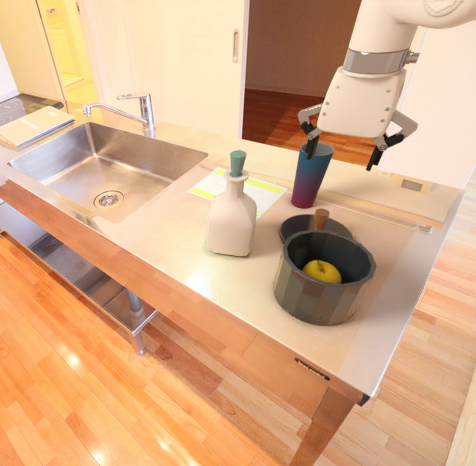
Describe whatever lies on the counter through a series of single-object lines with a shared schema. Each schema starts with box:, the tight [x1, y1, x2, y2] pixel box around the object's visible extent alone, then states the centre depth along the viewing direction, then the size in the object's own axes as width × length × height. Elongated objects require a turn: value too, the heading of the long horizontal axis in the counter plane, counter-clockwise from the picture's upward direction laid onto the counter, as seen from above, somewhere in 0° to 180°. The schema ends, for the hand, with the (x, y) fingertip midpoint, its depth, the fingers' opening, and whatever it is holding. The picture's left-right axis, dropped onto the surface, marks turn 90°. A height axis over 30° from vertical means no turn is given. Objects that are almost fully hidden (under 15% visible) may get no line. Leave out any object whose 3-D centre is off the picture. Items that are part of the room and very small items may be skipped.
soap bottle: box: [205, 149, 258, 257], centre depth 66 cm, size 10×10×23 cm
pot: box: [272, 230, 377, 327], centre depth 57 cm, size 13×13×10 cm
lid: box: [279, 207, 354, 243], centre depth 69 cm, size 14×14×7 cm
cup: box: [290, 141, 336, 210], centre depth 76 cm, size 7×7×15 cm
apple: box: [302, 260, 341, 284], centre depth 57 cm, size 6×6×8 cm
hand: (338, 161), depth 59 cm, fingers open, 9 cm apart
